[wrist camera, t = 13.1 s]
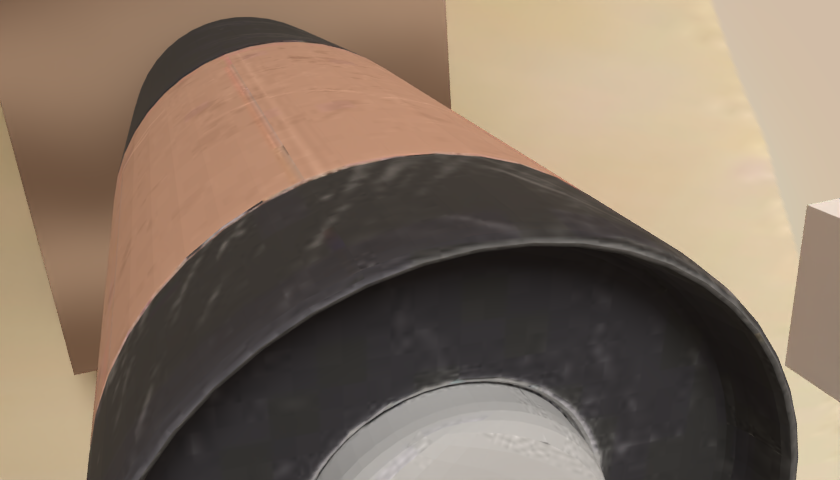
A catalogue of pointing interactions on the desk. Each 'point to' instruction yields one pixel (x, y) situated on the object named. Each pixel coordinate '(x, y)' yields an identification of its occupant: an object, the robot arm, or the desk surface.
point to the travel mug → (396, 296)
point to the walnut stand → (116, 99)
